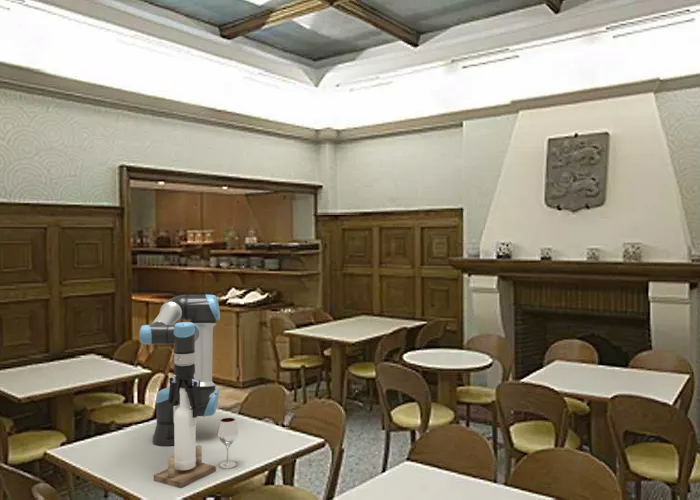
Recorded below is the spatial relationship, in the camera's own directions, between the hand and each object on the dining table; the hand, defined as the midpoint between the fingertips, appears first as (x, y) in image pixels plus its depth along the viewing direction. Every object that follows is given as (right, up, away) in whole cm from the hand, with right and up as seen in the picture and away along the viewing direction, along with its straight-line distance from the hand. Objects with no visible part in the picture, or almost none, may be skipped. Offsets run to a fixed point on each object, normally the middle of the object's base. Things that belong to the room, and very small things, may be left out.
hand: (185, 424), depth 224 cm
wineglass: (+14, -20, +11) cm, 26 cm away
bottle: (0, -16, 0) cm, 16 cm away
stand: (0, -20, 0) cm, 20 cm away
